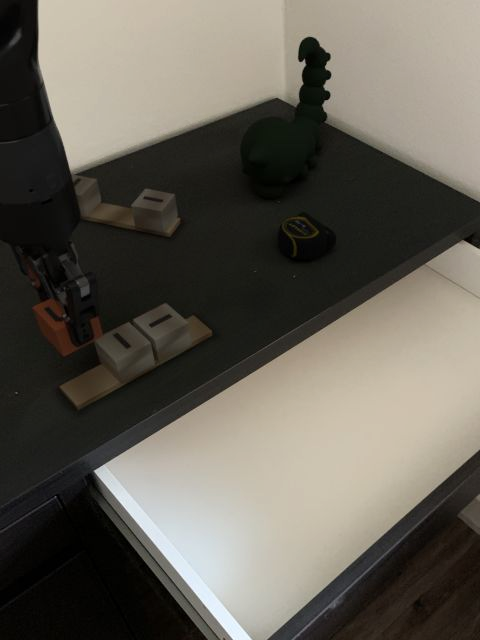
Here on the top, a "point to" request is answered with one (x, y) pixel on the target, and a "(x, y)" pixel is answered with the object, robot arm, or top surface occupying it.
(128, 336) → the word
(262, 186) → the toy figurine
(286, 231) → the tape measure
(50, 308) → the orange block
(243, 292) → the top surface
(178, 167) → the top surface
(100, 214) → the word
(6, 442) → the top surface
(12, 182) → the robot arm
